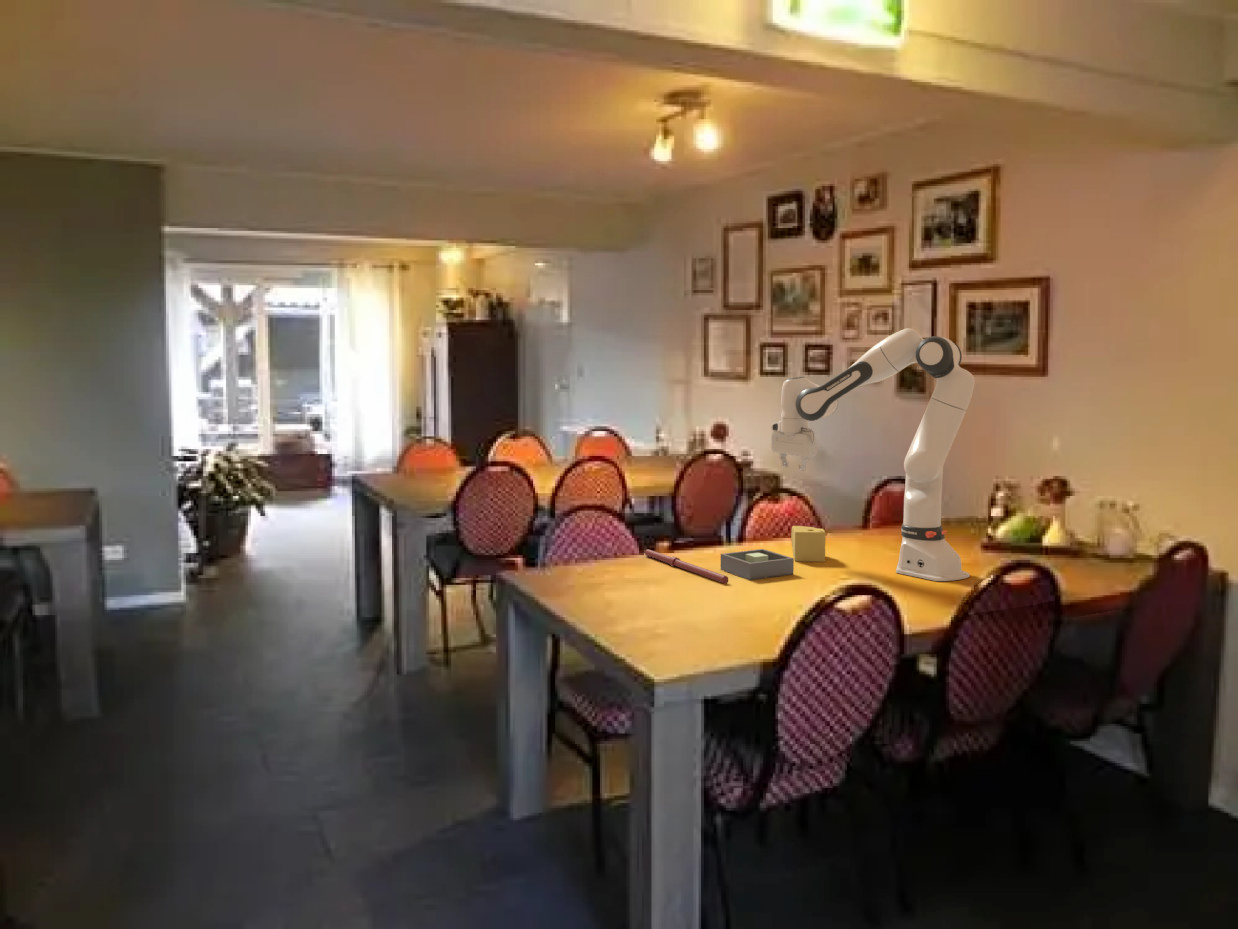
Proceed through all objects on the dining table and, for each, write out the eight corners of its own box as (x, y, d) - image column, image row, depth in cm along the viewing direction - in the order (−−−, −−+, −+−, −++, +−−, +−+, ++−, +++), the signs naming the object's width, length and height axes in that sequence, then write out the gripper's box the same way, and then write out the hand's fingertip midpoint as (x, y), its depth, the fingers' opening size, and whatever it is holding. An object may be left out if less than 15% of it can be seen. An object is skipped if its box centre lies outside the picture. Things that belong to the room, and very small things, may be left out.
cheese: (822, 555, 333) (823, 526, 332) (826, 562, 323) (826, 532, 321) (790, 555, 334) (791, 525, 333) (793, 562, 324) (793, 531, 322)
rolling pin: (643, 557, 333) (643, 548, 332) (651, 556, 334) (651, 547, 334) (721, 585, 294) (721, 575, 293) (730, 584, 295) (730, 574, 295)
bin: (793, 574, 306) (793, 558, 306) (749, 580, 299) (750, 563, 298) (762, 564, 320) (763, 548, 320) (720, 569, 313) (720, 553, 312)
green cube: (768, 571, 308) (768, 555, 308) (754, 573, 306) (754, 557, 306) (758, 568, 313) (758, 552, 312) (745, 570, 311) (745, 554, 310)
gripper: (822, 428, 320) (821, 471, 322) (783, 424, 338) (782, 464, 340) (806, 429, 317) (805, 472, 319) (768, 424, 335) (767, 465, 337)
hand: (793, 468), depth 329 cm, fingers open, 8 cm apart
